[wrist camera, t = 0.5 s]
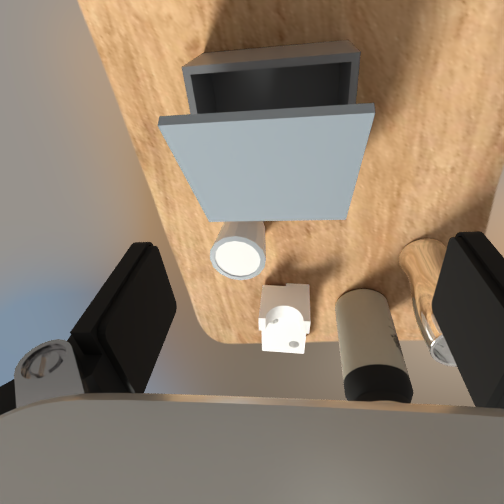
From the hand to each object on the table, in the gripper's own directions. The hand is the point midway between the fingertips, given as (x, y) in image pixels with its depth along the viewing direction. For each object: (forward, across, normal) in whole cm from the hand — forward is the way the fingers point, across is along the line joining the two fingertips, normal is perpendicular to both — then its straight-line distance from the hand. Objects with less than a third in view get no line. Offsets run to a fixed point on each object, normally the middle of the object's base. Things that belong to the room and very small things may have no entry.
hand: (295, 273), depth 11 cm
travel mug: (+31, -9, +32) cm, 45 cm away
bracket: (+31, +3, +33) cm, 46 cm away
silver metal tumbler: (+30, -16, +22) cm, 41 cm away
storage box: (+29, +2, +2) cm, 30 cm away
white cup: (+30, +8, +16) cm, 35 cm away
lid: (+18, +2, +4) cm, 18 cm away
